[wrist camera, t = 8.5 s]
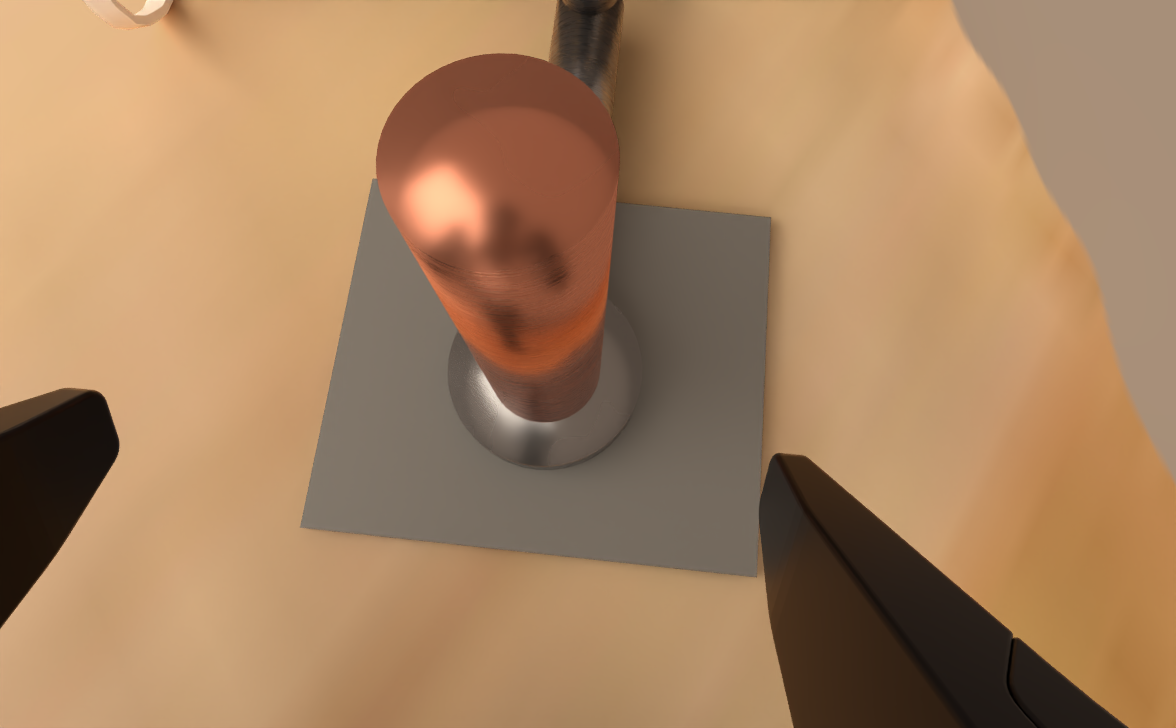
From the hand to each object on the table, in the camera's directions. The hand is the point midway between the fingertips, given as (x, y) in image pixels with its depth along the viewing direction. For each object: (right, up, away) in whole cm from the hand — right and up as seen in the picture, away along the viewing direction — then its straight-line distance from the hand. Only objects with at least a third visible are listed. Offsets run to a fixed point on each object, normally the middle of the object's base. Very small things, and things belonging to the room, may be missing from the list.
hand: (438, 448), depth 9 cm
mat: (+1, +1, +13) cm, 13 cm away
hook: (+1, +6, +14) cm, 16 cm away
